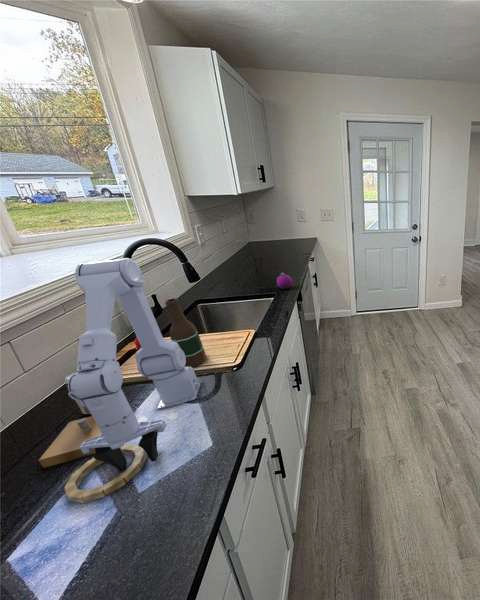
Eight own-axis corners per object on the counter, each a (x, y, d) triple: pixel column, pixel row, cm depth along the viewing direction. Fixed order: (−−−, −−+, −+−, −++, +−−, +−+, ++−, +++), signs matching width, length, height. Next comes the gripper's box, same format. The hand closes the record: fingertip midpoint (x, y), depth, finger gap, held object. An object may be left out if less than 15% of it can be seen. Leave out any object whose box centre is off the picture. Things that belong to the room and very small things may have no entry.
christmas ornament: (291, 285, 182) (287, 268, 178) (295, 288, 175) (291, 271, 171) (276, 288, 178) (272, 271, 174) (280, 292, 171) (276, 275, 167)
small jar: (91, 416, 88) (71, 381, 83) (78, 414, 89) (58, 379, 84) (109, 404, 92) (91, 370, 87) (96, 402, 93) (78, 369, 88)
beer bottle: (198, 368, 107) (174, 304, 98) (176, 369, 107) (150, 305, 98) (211, 355, 114) (190, 294, 105) (190, 356, 114) (168, 296, 105)
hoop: (153, 441, 78) (151, 436, 77) (133, 487, 66) (130, 482, 66) (87, 460, 73) (84, 455, 73) (54, 513, 62) (50, 507, 61)
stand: (132, 413, 88) (123, 396, 85) (112, 448, 76) (101, 430, 74) (73, 429, 83) (62, 411, 81) (43, 468, 72) (30, 449, 70)
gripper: (60, 442, 60) (91, 490, 66) (149, 418, 65) (171, 465, 70) (79, 418, 67) (106, 463, 72) (159, 397, 71) (179, 442, 76)
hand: (139, 462), depth 71 cm, fingers open, 5 cm apart
